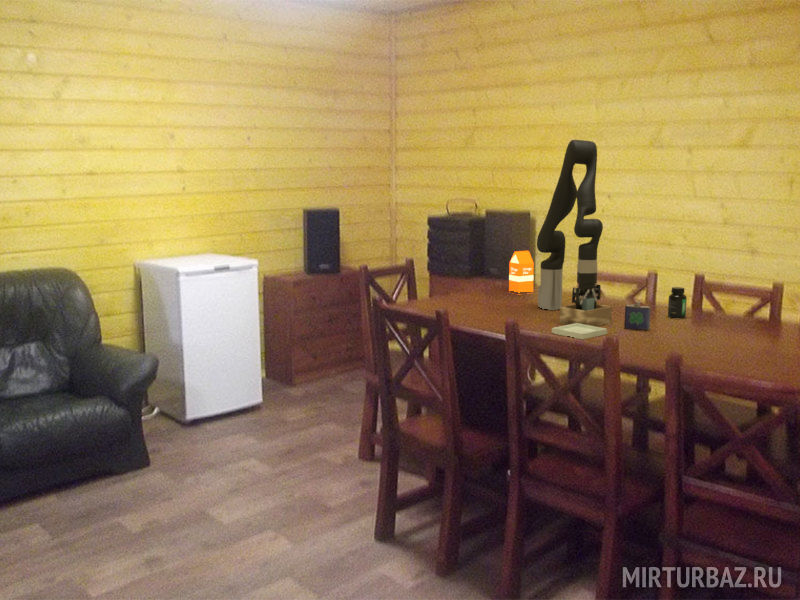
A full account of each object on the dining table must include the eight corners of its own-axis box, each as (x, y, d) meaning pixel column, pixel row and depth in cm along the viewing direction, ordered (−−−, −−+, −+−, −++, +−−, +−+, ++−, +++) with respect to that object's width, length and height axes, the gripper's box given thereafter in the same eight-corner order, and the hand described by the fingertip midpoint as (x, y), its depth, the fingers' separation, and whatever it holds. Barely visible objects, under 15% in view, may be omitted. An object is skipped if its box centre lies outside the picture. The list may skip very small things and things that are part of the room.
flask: (650, 330, 303) (651, 301, 302) (648, 331, 301) (649, 302, 299) (624, 328, 308) (625, 300, 306) (623, 329, 305) (624, 301, 303)
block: (577, 318, 317) (577, 297, 315) (584, 316, 319) (585, 296, 318) (586, 319, 313) (587, 299, 312) (593, 318, 316) (594, 297, 315)
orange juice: (533, 292, 390) (534, 251, 387) (518, 294, 386) (519, 252, 382) (523, 290, 397) (523, 249, 393) (508, 292, 392) (509, 250, 389)
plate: (551, 333, 299) (551, 327, 299) (576, 328, 307) (576, 323, 307) (582, 339, 288) (582, 334, 288) (607, 334, 297) (607, 328, 296)
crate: (559, 323, 317) (559, 306, 316) (585, 318, 326) (585, 302, 325) (585, 328, 307) (585, 311, 306) (611, 323, 317) (611, 306, 315)
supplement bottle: (688, 319, 324) (689, 289, 322) (671, 319, 324) (672, 289, 321) (682, 315, 330) (683, 286, 328) (665, 315, 330) (666, 286, 328)
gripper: (591, 268, 320) (589, 309, 323) (567, 271, 312) (566, 313, 314) (606, 270, 315) (605, 311, 317) (582, 273, 306) (581, 316, 309)
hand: (585, 312), depth 316 cm, fingers open, 8 cm apart
